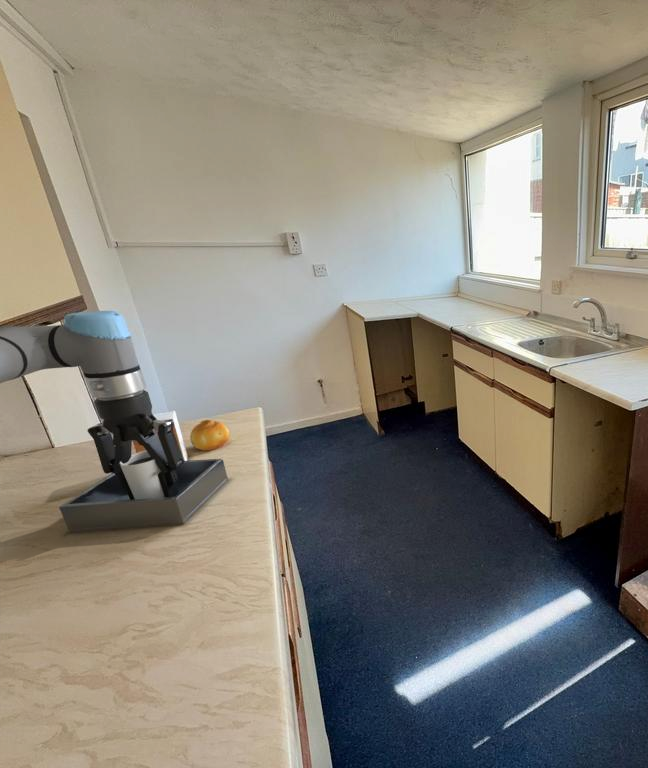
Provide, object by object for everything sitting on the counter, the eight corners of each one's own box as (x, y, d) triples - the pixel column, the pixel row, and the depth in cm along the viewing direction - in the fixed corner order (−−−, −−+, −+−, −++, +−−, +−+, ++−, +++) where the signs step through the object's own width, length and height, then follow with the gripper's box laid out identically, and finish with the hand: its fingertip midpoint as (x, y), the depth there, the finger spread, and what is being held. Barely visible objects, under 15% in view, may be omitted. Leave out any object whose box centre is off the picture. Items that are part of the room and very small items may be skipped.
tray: (70, 534, 74) (58, 506, 72) (134, 487, 89) (126, 464, 87) (184, 525, 76) (176, 498, 74) (228, 481, 91) (222, 458, 89)
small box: (143, 477, 93) (126, 426, 89) (147, 466, 98) (131, 417, 93) (187, 466, 97) (173, 418, 93) (188, 456, 102) (175, 410, 98)
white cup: (164, 488, 86) (150, 447, 83) (184, 494, 84) (171, 452, 81) (127, 505, 80) (111, 462, 77) (147, 512, 78) (132, 468, 75)
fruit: (211, 448, 101) (214, 417, 103) (180, 451, 101) (183, 420, 103) (234, 450, 109) (236, 421, 111) (205, 452, 109) (208, 423, 111)
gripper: (45, 403, 70) (89, 514, 77) (161, 398, 72) (193, 506, 80) (83, 390, 77) (120, 492, 84) (187, 385, 79) (215, 485, 87)
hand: (155, 498), depth 82 cm, fingers closed on white cup, 6 cm apart
